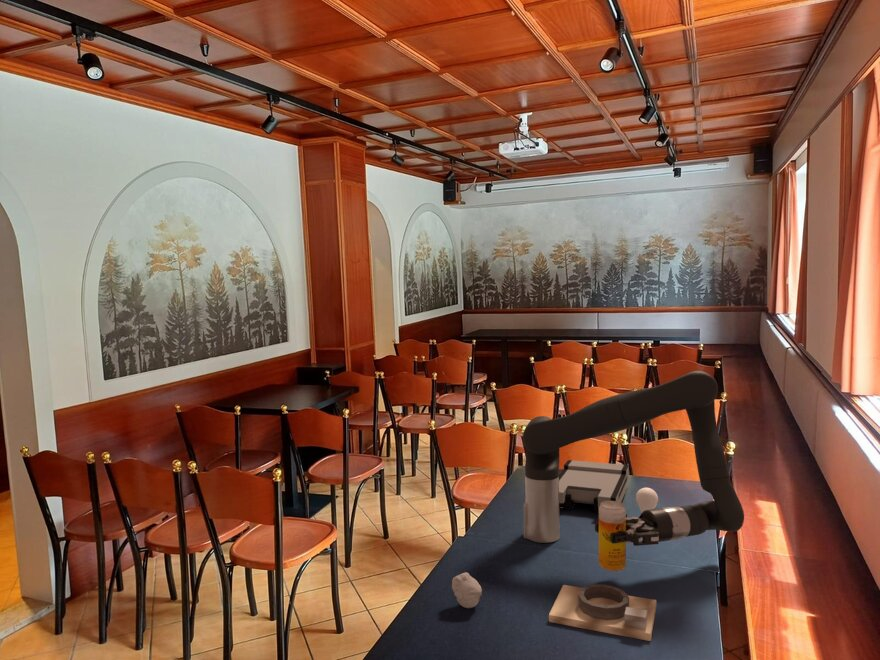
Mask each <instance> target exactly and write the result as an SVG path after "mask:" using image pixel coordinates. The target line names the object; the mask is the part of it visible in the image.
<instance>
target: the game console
mask: <svg viewBox="0 0 880 660" xmlns="http://www.w3.org/2000/svg"><path fill="white" fill-rule="evenodd" d="M629 467H630V465H629V464H620V463H619V464H617V463H608V462H607V463H605V462H595V461H583V460H571V459H568V460H567V461H566V462H565V463H564V464H563V469H562V470H561V472H560V473H559V507H563V508H562V509H565V508H570V509H569V510H573V508H574V507H575V505H576V503H578V504H587V505H593V511H594V512H595V513H599V507H600V504H601V502H604V501H617V502H620V503H622V501H623V499H624V496H625V494H626V491H627V484H628V481H629V478H630V470H629ZM574 504H575V505H574ZM573 506H574V507H573Z"/></svg>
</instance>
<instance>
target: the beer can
mask: <svg viewBox="0 0 880 660" xmlns="http://www.w3.org/2000/svg"><path fill="white" fill-rule="evenodd" d="M626 513H627V510H626V508H625V505H624V504H623V503H622V502H621V503H620V502H617V501H604V502H601V504H600V507H599V512H598V522H599V533H598V565H599V566H600V567H601V569H602V570H604V571H607V572H609V573H620V572H621V571H623V570H624V569H625V568H626V566H627V564H626V559H627V557H626V556H627V553H626V552H627V549H626V548H627V544H626V543H627V542H621V543H614V544H613V543H611V542H610V534H611V533H615V532H622V531H625V532H626Z"/></svg>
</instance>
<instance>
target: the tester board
mask: <svg viewBox="0 0 880 660" xmlns="http://www.w3.org/2000/svg"><path fill="white" fill-rule="evenodd" d="M656 610H657V599H651V598H645V597H640V596H634V595H629V594H627V593H626V591H624V590H623V589H620V588H618V587H616V586H614V585H608V584H599V583H598V584H589V585H586V586H584V587H579V586H574V585H573V586H572V585H566V584H563V585H562V587H561V589H560V591H559V593H558V595H557V597H556V599H555V601H554V603H553V606H552V607H551V609H550V611H549V614H548V622H549V623H553V624H554V623H555V624H558V625H564V626H569V627H573V628H580V629H584V630H589V631H596V632H600V633H606V634H612V635H616V636H621V637H626V638H631V639H637V640H643V641H648V642H651V641H652V635H653V630H654V624H655V618H656Z"/></svg>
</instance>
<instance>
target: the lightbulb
mask: <svg viewBox="0 0 880 660" xmlns="http://www.w3.org/2000/svg"><path fill="white" fill-rule="evenodd" d="M635 502H636V504H637V505H638V507H639V510H640V513H641V514H642V512H643V511H645V510H650V509H656V507H657V505H658V502H659V496H658V494H657V492H656V491H655V490H654V489H653V488H650V487H642V488H640V489H639V490H638V491H637V492H636V494H635ZM641 514H640V515H641Z"/></svg>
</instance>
